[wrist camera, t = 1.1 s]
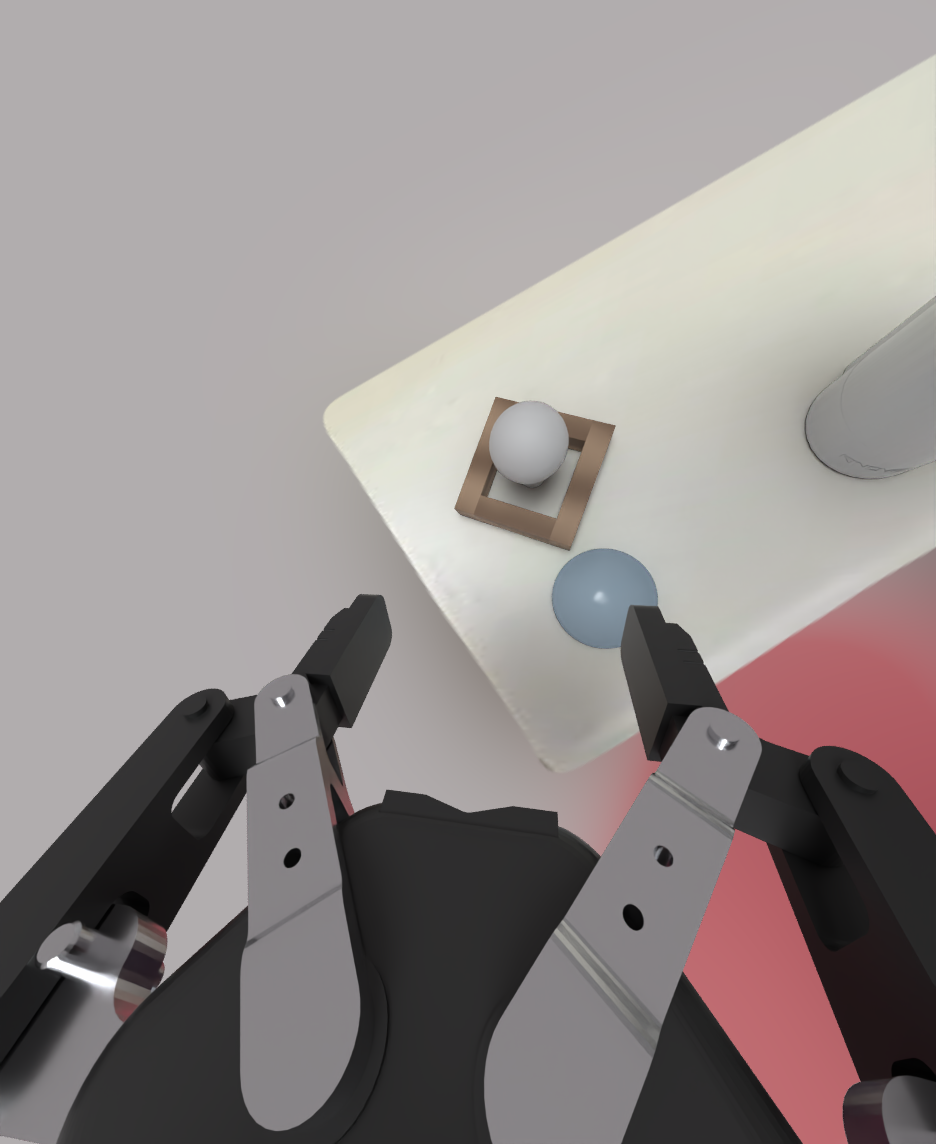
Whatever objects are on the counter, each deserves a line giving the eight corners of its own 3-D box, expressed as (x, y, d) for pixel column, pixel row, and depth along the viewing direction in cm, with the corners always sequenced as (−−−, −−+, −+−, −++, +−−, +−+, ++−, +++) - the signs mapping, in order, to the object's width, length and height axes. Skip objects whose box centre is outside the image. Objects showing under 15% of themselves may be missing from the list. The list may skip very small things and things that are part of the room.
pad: (571, 537, 35) (571, 535, 34) (669, 569, 33) (672, 567, 32) (538, 625, 35) (538, 626, 34) (634, 662, 33) (637, 664, 32)
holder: (499, 410, 37) (495, 396, 35) (611, 438, 35) (615, 425, 32) (460, 514, 37) (454, 508, 35) (569, 550, 35) (570, 546, 32)
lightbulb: (529, 520, 36) (520, 485, 25) (490, 477, 37) (465, 426, 26) (578, 478, 35) (590, 424, 24) (536, 435, 36) (530, 366, 26)
